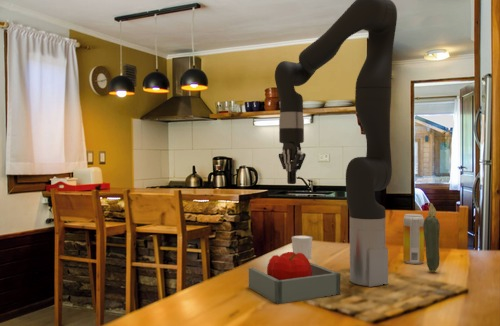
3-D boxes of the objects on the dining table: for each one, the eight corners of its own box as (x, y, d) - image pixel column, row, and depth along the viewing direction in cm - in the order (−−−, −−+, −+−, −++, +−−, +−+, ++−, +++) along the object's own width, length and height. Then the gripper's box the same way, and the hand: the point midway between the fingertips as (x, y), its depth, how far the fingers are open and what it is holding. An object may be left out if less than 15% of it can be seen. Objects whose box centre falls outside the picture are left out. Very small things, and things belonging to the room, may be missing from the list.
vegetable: (440, 274, 133) (441, 203, 133) (424, 274, 134) (424, 203, 134) (437, 271, 137) (437, 202, 137) (422, 270, 138) (422, 202, 138)
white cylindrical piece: (313, 260, 152) (313, 238, 152) (292, 260, 152) (292, 238, 152) (311, 255, 159) (311, 235, 159) (290, 255, 159) (290, 235, 159)
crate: (340, 294, 115) (340, 273, 114) (277, 304, 107) (277, 282, 107) (306, 279, 128) (306, 261, 128) (248, 287, 121) (248, 267, 121)
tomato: (281, 281, 127) (281, 248, 126) (320, 289, 119) (320, 253, 119) (257, 290, 118) (256, 254, 118) (297, 299, 111) (297, 261, 111)
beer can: (421, 260, 151) (421, 213, 151) (426, 264, 145) (426, 216, 145) (401, 260, 152) (401, 213, 152) (405, 264, 146) (405, 215, 146)
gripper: (313, 126, 141) (313, 184, 141) (291, 129, 153) (291, 182, 153) (291, 126, 138) (292, 185, 138) (270, 128, 150) (270, 183, 150)
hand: (291, 183), depth 146 cm, fingers closed
